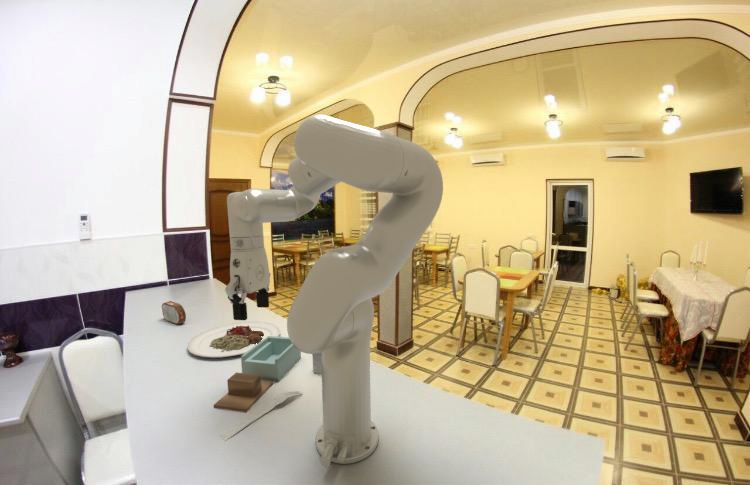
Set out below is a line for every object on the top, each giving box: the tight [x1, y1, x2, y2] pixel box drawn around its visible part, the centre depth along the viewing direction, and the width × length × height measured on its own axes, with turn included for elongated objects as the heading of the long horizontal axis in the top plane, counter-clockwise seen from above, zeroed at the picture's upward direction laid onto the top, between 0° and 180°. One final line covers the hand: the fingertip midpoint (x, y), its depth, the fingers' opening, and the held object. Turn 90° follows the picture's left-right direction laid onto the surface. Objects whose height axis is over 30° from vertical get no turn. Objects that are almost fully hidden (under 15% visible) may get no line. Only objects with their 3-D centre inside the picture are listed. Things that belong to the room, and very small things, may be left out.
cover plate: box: [213, 372, 274, 413], centre depth 79 cm, size 12×9×5 cm
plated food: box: [187, 320, 281, 358], centre depth 112 cm, size 30×30×3 cm
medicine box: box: [311, 352, 322, 374], centre depth 92 cm, size 8×4×9 cm, turn 168°
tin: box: [161, 300, 187, 325], centre depth 131 cm, size 15×3×8 cm, turn 58°
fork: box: [219, 390, 303, 442], centre depth 72 cm, size 3×21×3 cm, turn 142°
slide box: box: [240, 336, 302, 383], centre depth 92 cm, size 14×11×6 cm
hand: (252, 313), depth 77 cm, fingers open, 9 cm apart
